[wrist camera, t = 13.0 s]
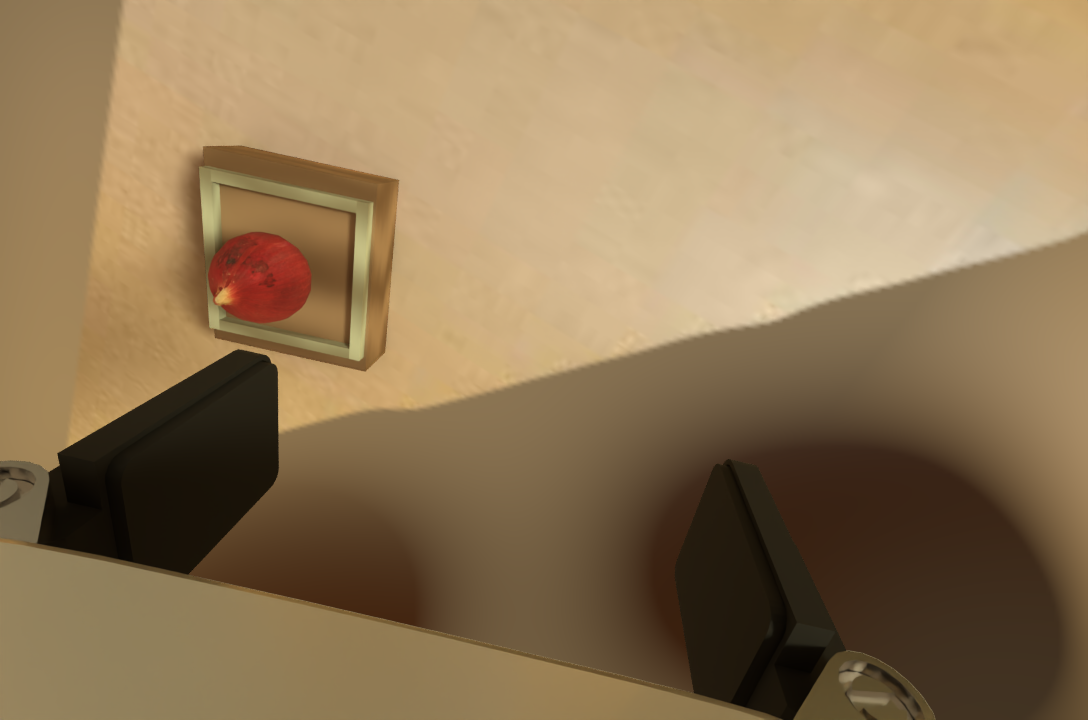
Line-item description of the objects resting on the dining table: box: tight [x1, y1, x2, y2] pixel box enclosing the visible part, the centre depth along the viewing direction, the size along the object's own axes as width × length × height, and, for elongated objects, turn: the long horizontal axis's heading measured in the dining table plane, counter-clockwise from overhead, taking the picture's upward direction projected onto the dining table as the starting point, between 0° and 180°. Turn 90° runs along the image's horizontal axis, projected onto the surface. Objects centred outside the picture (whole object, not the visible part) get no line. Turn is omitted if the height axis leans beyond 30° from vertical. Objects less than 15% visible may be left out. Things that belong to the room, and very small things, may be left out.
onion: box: [208, 232, 312, 323], centre depth 34 cm, size 6×6×8 cm
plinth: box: [199, 146, 399, 371], centre depth 39 cm, size 14×12×5 cm
